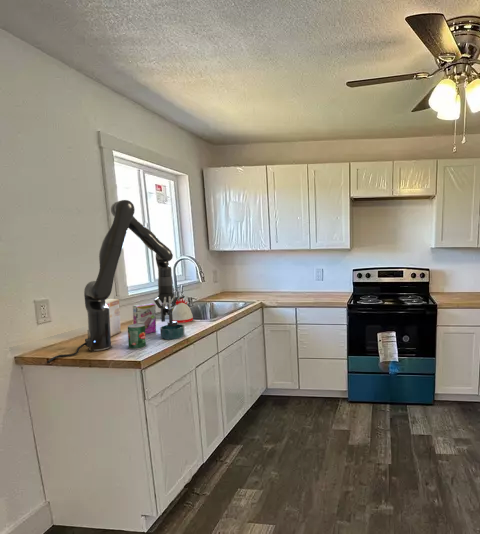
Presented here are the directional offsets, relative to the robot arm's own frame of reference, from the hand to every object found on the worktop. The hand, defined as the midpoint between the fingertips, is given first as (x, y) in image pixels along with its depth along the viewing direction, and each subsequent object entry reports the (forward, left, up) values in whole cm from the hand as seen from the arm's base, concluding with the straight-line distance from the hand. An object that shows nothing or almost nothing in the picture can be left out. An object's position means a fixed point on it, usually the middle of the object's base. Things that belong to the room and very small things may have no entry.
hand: (166, 314), depth 195 cm
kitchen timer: (+20, +26, -11) cm, 35 cm away
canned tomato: (-21, -14, -11) cm, 27 cm away
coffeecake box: (-26, +20, -11) cm, 35 cm away
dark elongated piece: (0, -2, -5) cm, 5 cm away
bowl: (0, -8, -11) cm, 13 cm away
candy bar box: (-9, +10, -11) cm, 17 cm away
